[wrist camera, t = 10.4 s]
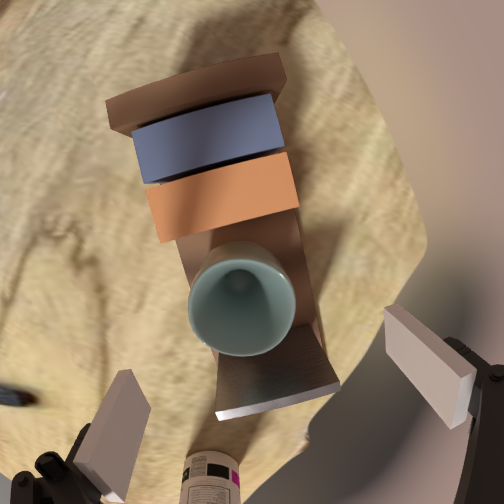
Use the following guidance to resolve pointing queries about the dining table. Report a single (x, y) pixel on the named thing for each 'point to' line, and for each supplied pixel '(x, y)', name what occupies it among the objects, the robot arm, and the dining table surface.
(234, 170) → the book terracotta
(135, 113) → the shelf
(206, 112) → the book navy
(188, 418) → the dining table surface
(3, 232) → the dining table surface
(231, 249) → the cup
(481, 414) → the robot arm
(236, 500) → the supplement can
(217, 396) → the bookend
